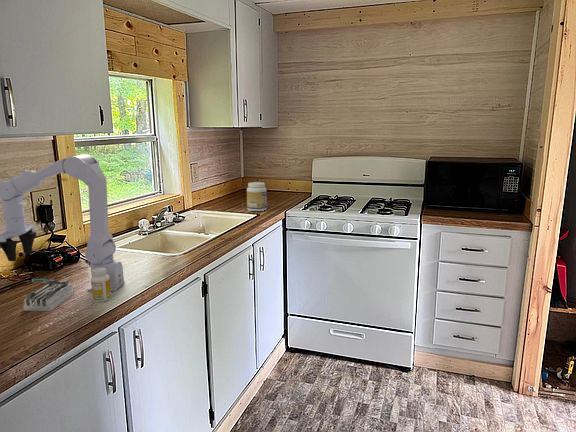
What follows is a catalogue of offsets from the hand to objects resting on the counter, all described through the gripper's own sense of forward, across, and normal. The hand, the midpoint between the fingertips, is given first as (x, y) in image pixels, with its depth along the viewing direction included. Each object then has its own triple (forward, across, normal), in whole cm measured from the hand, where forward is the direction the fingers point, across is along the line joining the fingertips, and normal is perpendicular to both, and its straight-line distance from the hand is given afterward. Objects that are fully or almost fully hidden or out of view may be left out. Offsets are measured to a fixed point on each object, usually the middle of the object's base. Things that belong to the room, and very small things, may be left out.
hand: (20, 257), depth 145 cm
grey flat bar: (+4, +11, +17) cm, 21 cm away
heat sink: (+10, +12, +17) cm, 23 cm away
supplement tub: (+10, -130, +59) cm, 143 cm away
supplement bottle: (+10, +9, +32) cm, 35 cm away
